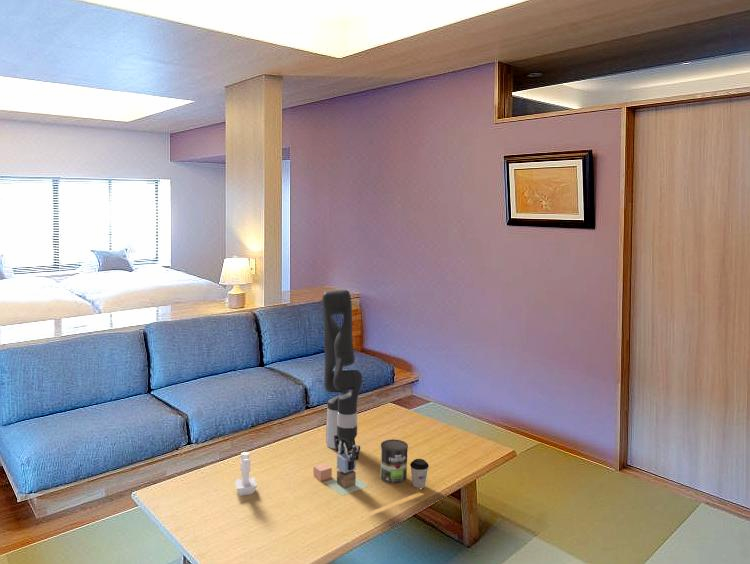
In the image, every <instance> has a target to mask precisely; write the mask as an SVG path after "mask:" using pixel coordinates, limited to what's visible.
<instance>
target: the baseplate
mask: <svg viewBox="0 0 750 564" xmlns="http://www.w3.org/2000/svg"><path fill="white" fill-rule="evenodd" d="M323 483H324V484H325V485H327V486H328V487H329V488H331V489H333V490H334V491H335V492H336V493H338V494H339V495H340V496H346V495H348V494H351V493H353V492H356V491H359V490H362V489H364V488H366V487H367V488H368V487H369V485H368V484H367V483H366V482H364V481H362V480H360V479H359V478H358V477H356V485H354V486H351V487H348V488H345V489H344V488H343V487H341V486H340V485H339V484H337V477H335V478H333V479H329V480H327V481H324V482H323Z"/></svg>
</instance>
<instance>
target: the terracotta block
mask: <svg viewBox="0 0 750 564" xmlns="http://www.w3.org/2000/svg"><path fill="white" fill-rule="evenodd" d="M312 472H313V475H312V476H313V477H314V478H315V479H317V480H318V481H320V482H322V481H325V480H328V479H331V478H333V477H332V476H333V475H332V474H333V473H332V472H333V470H332V467H331V466H330V465H329V464H327V463H325V462H323V463H319V464H317V465H314V466H313V471H312Z"/></svg>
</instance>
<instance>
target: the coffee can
mask: <svg viewBox="0 0 750 564" xmlns="http://www.w3.org/2000/svg"><path fill="white" fill-rule="evenodd" d="M380 447H381V448H380V476H379V477H380V479H381V480H382V481H383V482H384V483H387V484H395V485H396V484H400V483H404V482H405V481H407V480H406V479H407V473H408V472H407V470H408V451H409V450H408V448H409V445H408V443H407V442H405V441H403V440H401V439H387V440H386V439H385V440H384V441H382V442H381V443H380Z"/></svg>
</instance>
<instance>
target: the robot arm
mask: <svg viewBox="0 0 750 564" xmlns="http://www.w3.org/2000/svg"><path fill="white" fill-rule="evenodd" d="M321 300H322V301H321V304H322V315H323V326H324V327H323V329H324V330H323V345H324V346H323V349H324V350H323V351H324V376H323V379H324V380H323V386H324V390H325V391H326V392H327V393H339V394H338V395H336V396H334V397H333V396H332V397H331V398H329V399H328V400H327V402H326V403H327V404H326V405H327V406H326V410H327V412H326V414H327V415H326V417H327V420H326V423H325V443H326V447H328V448H329V449H332V450H333V449H334V450H335V452H337V454H338V455H340V454H343V453H346V455H347V456H348V470H349V471H350V470H353V469H354V461H356V462H357V461H359V456H360V452H361V445H357V444H356V437H357V436H358V399H359V396H360V395H359V394H360V391H361V388H362V385H363V375H362V373H361V371H360V370H359V369H351V370H350V369H349V370H343V368H346V367H348V366H352V365H353V364H354V363H355V360H356V358H355V352H354V344H353V342H354V341H353V310H352V309H353V307H352V306H353V304H352V297H351V294H350V292H349V290H347V289H341V290H339V289H338V290H328V291H324V293H323V294H322V299H321ZM333 315H343V322H342V325H341V327H340V325H338V323H337V322H336V321H335V319H334V317H333ZM350 454H352V457H351V456H350ZM355 456H356V457H355ZM353 471H354V470H353Z"/></svg>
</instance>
